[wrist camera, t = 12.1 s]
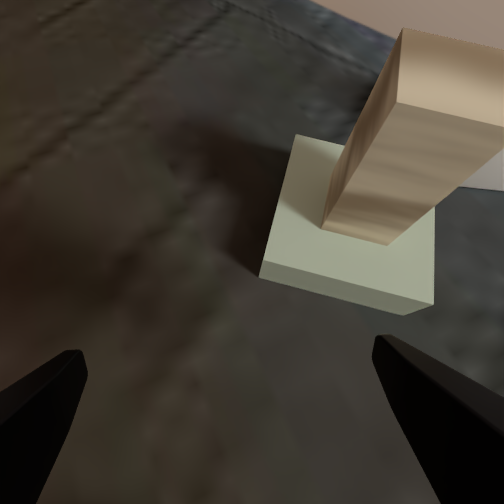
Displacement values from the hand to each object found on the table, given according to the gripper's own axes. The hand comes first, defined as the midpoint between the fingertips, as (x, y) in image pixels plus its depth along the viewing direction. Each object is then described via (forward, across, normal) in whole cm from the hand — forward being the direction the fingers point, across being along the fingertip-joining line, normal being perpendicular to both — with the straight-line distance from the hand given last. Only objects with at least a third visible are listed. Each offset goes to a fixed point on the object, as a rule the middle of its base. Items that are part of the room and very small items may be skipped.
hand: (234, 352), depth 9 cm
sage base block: (+17, -10, +2) cm, 20 cm away
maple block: (+14, -10, -1) cm, 17 cm away
